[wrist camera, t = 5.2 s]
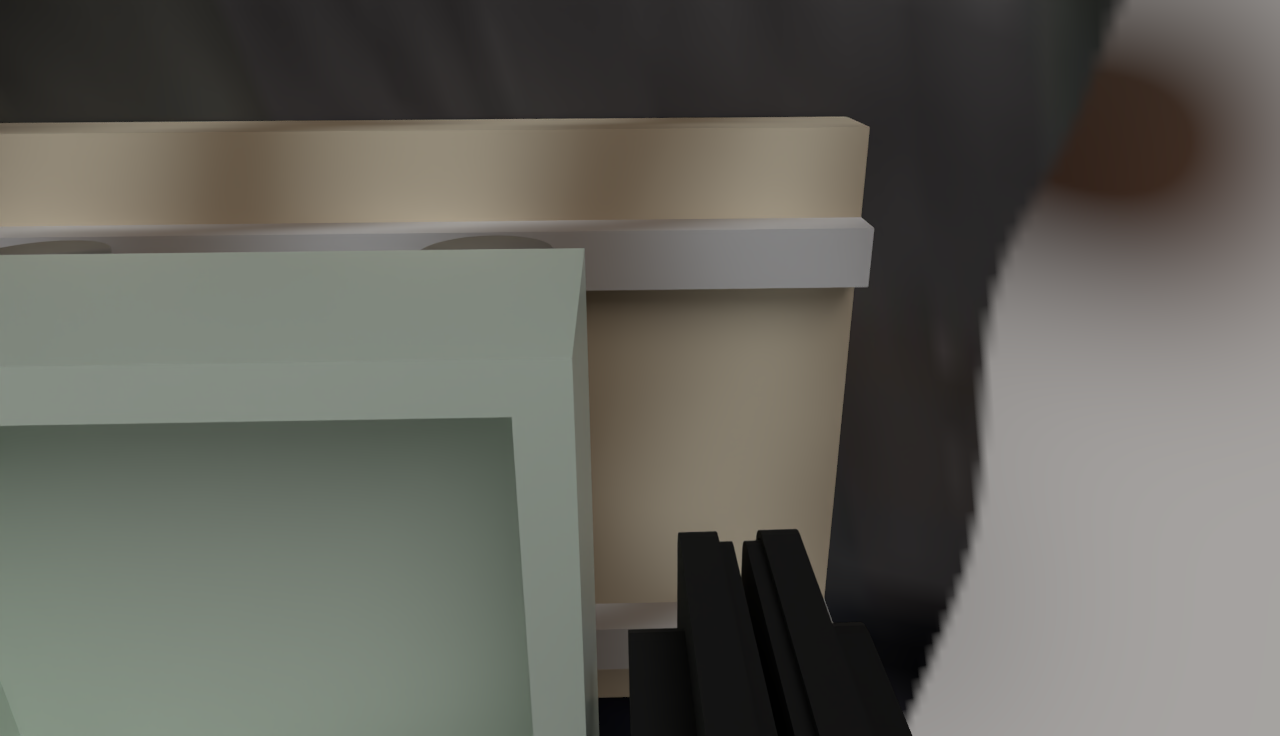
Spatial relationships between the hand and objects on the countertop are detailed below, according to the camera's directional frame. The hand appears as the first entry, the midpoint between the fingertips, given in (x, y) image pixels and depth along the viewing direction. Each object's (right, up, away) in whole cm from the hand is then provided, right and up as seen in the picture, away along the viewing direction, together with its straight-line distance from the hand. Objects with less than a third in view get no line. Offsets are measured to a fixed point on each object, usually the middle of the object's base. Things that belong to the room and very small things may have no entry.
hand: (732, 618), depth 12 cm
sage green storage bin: (-7, +1, +3) cm, 8 cm away
